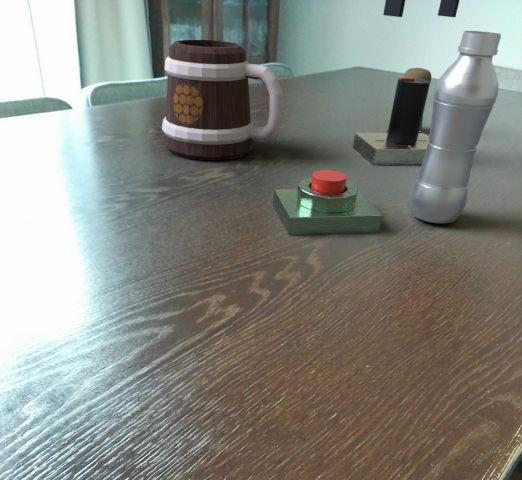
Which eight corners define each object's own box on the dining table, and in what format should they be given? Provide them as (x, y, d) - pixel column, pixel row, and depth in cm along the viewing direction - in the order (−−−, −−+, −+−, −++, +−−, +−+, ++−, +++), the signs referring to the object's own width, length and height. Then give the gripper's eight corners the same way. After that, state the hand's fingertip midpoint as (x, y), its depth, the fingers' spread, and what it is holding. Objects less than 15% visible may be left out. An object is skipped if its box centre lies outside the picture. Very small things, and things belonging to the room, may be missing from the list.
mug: (145, 152, 78) (135, 42, 69) (189, 132, 90) (186, 35, 81) (262, 173, 73) (268, 57, 64) (293, 148, 85) (302, 47, 76)
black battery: (408, 136, 85) (422, 75, 80) (421, 144, 82) (436, 81, 76) (382, 136, 85) (393, 74, 79) (393, 144, 81) (406, 80, 75)
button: (338, 184, 60) (340, 169, 59) (349, 195, 57) (351, 180, 56) (307, 184, 60) (308, 169, 59) (316, 196, 57) (317, 181, 56)
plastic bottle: (463, 232, 60) (525, 38, 47) (406, 226, 60) (453, 32, 48) (455, 213, 65) (510, 32, 53) (403, 207, 65) (445, 27, 53)
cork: (424, 135, 97) (439, 71, 90) (394, 133, 97) (407, 70, 90) (416, 127, 102) (430, 66, 95) (388, 126, 102) (399, 65, 95)
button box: (354, 204, 65) (359, 174, 63) (379, 233, 58) (386, 199, 56) (272, 206, 63) (274, 174, 61) (288, 235, 56) (291, 201, 54)
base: (420, 147, 90) (424, 132, 88) (446, 164, 82) (451, 148, 80) (352, 147, 87) (355, 131, 86) (373, 165, 80) (376, 147, 78)
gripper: (488, -171, 68) (445, 14, 81) (375, -218, 55) (345, 13, 68) (541, -178, 64) (487, 18, 77) (433, -231, 50) (389, 18, 63)
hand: (420, 16), depth 72 cm, fingers open, 13 cm apart
